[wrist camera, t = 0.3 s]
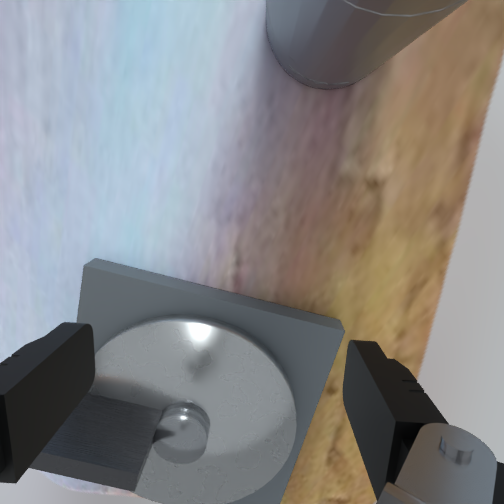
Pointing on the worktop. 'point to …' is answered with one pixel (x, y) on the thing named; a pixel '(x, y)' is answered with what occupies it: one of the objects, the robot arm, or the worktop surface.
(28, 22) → the worktop surface
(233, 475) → the rotary knob
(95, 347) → the plinth
